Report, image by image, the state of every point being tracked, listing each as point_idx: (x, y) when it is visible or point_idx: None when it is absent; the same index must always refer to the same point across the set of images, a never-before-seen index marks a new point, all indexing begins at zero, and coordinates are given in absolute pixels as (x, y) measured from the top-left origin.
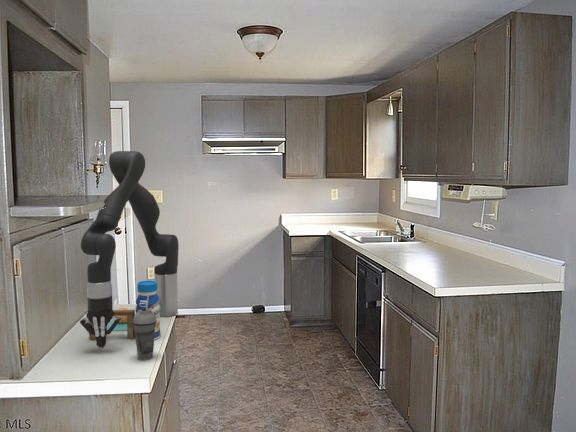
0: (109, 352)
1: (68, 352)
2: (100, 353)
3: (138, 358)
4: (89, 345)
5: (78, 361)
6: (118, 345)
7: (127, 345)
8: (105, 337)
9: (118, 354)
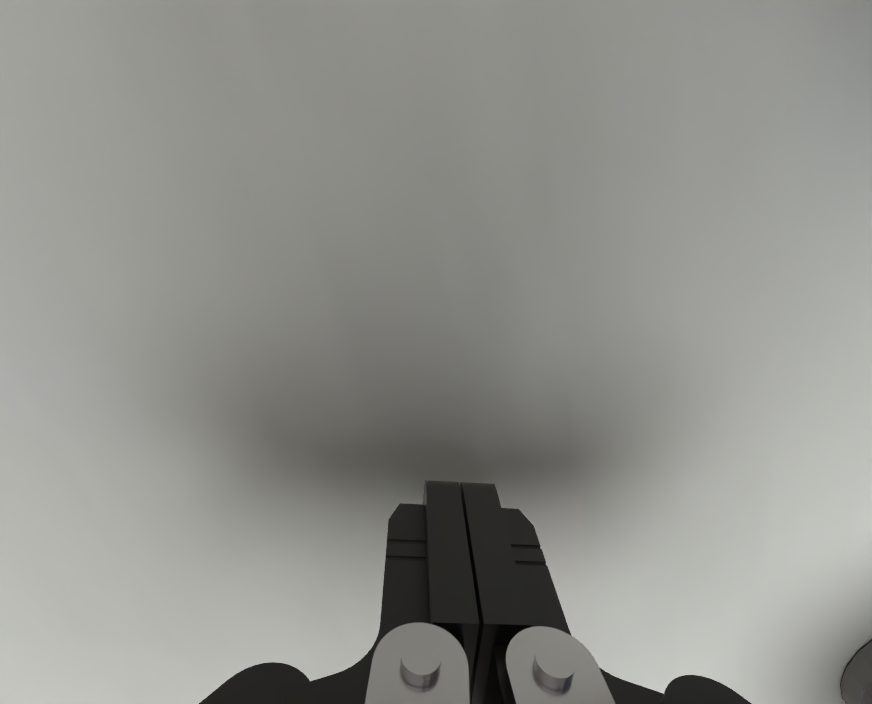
0: (549, 509)
1: (8, 449)
2: None
3: (847, 701)
4: (191, 197)
5: None
6: (650, 271)
7: (778, 291)
8: (545, 621)
9: (655, 575)
